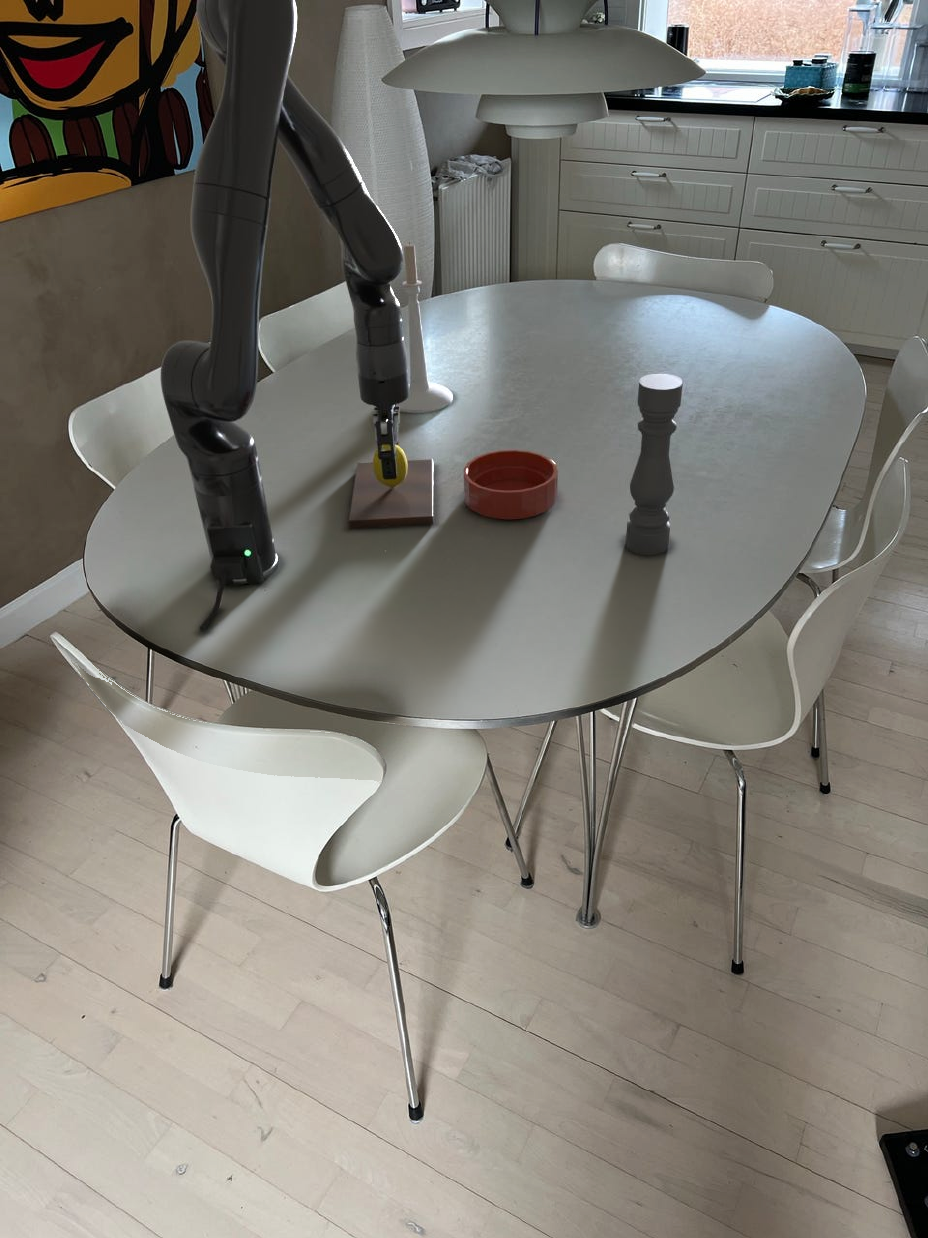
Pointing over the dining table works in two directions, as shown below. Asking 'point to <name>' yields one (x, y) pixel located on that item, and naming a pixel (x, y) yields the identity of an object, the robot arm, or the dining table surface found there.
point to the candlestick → (419, 351)
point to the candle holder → (653, 464)
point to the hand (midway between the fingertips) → (391, 466)
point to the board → (393, 498)
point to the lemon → (400, 465)
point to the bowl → (510, 484)
